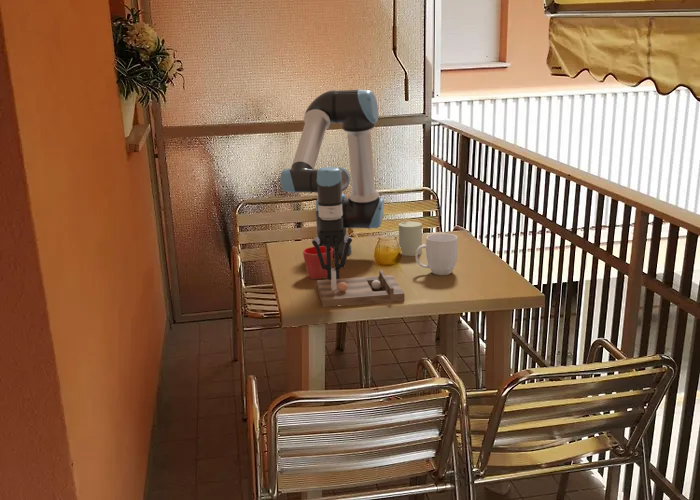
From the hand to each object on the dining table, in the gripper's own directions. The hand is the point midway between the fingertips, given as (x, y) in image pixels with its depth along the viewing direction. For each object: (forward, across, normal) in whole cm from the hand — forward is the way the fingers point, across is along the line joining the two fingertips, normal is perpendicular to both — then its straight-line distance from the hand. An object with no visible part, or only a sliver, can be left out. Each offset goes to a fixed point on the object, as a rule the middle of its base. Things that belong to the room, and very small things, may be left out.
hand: (333, 288), depth 233 cm
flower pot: (+4, -2, +26) cm, 27 cm away
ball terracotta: (0, +3, 0) cm, 3 cm away
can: (+4, +35, +48) cm, 59 cm away
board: (+4, +9, +4) cm, 10 cm away
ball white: (+2, +15, +7) cm, 17 cm away
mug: (+4, +40, +20) cm, 44 cm away
